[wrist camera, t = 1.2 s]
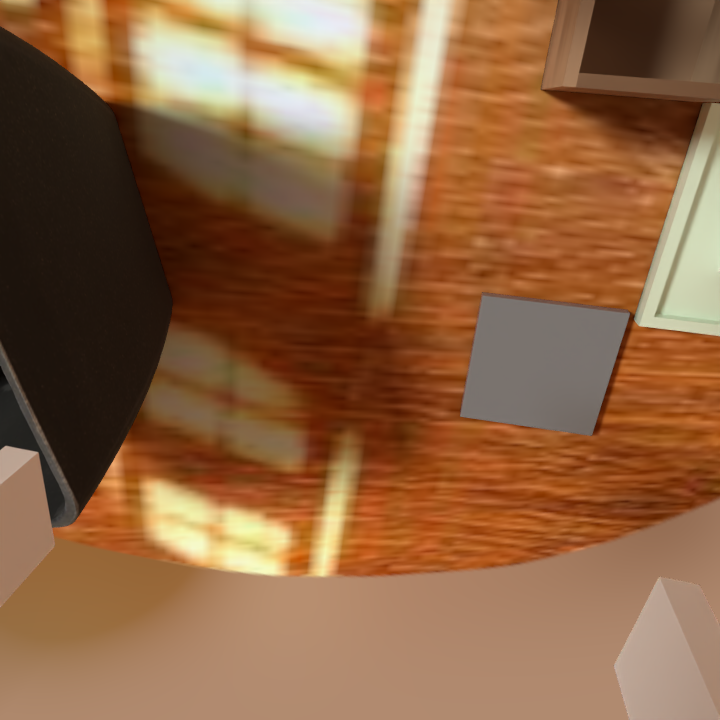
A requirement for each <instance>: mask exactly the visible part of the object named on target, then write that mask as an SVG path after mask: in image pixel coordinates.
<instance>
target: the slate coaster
mask: <svg viewBox="0 0 720 720" xmlns="http://www.w3.org/2000/svg"><path fill="white" fill-rule="evenodd" d="M629 316H630V313H629V312H628V310H624V309H616V308H607V307H599V306H591V305H583V304H575V303H566V302H558V301H550V300H542V299H534V298H525V297H517V296H509V295H501V294H493V293H484V292H482V296H481V301H480V307H479V312H478V317H477V323H476V328H475V334H474V339H473V345H472V350H471V356H470V361H469V366H468V372H467V377H466V383H465V388H464V394H463V399H462V404H461V410H460V417H467V418H473V419H480V420H487V421H494V422H501V423H508V424H514V425H521V426H528V427H535V428H542V429H548V430H555V431H562V432H569V433H576V434H583V435H589V436H592V434H593V430H594V427H595V424H596V421H597V418H598V414H599V411H600V408H601V405H602V402H603V399H604V395H605V392H606V389H607V386H608V383H609V379H610V376H611V373H612V370H613V367H614V364H615V360H616V357H617V354H618V351H619V348H620V344H621V341H622V338H623V335H624V332H625V329H626V325H627V322H628V319H629Z"/></svg>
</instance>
